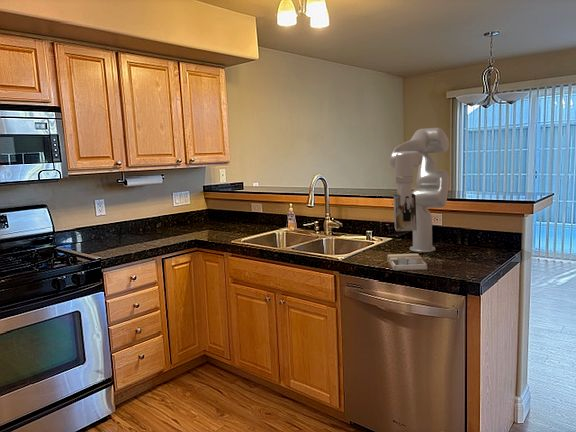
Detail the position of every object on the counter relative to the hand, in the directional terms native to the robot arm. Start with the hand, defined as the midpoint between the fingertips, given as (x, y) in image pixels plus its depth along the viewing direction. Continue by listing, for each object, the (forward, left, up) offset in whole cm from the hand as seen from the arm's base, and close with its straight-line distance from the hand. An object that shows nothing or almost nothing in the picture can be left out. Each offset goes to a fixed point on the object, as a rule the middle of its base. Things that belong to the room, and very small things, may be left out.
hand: (405, 219), depth 200 cm
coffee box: (0, 0, -5) cm, 5 cm away
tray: (+7, 0, -20) cm, 22 cm away
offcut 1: (+4, -3, -18) cm, 19 cm away
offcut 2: (+5, +1, -18) cm, 19 cm away
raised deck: (-2, 0, -20) cm, 21 cm away
